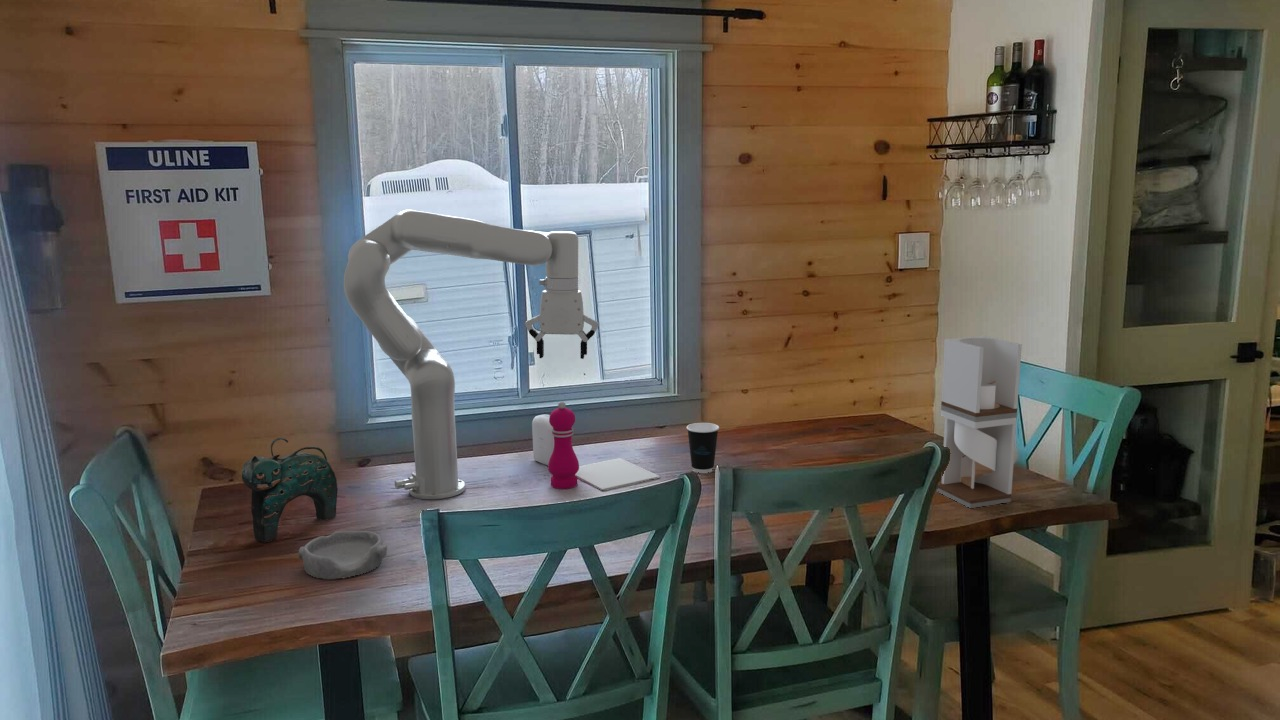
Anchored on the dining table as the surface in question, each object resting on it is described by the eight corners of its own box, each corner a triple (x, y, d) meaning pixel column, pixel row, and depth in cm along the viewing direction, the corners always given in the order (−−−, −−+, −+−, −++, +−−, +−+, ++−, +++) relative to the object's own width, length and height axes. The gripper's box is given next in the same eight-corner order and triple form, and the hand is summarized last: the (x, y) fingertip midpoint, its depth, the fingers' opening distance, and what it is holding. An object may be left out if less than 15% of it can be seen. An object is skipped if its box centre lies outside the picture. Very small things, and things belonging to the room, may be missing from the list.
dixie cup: (696, 477, 220) (696, 432, 218) (680, 468, 227) (680, 425, 224) (725, 472, 223) (725, 428, 221) (708, 463, 230) (708, 421, 228)
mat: (602, 491, 211) (602, 489, 211) (564, 471, 225) (564, 469, 225) (659, 478, 219) (659, 476, 219) (619, 459, 234) (619, 457, 234)
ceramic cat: (260, 547, 181) (250, 449, 177) (241, 540, 184) (231, 444, 180) (344, 517, 197) (337, 426, 193) (325, 511, 200) (317, 422, 196)
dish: (397, 565, 172) (395, 540, 171) (329, 590, 162) (327, 563, 161) (355, 545, 181) (353, 521, 180) (288, 568, 171) (286, 542, 170)
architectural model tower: (936, 492, 207) (944, 339, 200) (975, 486, 211) (985, 335, 204) (970, 509, 197) (979, 347, 190) (1010, 502, 200) (1021, 344, 193)
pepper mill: (575, 490, 211) (573, 405, 207) (545, 489, 212) (542, 405, 209) (582, 480, 218) (580, 398, 214) (552, 479, 219) (550, 397, 216)
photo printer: (530, 460, 235) (529, 413, 232) (545, 456, 237) (543, 410, 235) (553, 469, 227) (552, 421, 224) (567, 466, 229) (566, 418, 227)
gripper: (522, 286, 210) (523, 359, 213) (598, 287, 210) (598, 361, 213) (526, 282, 217) (527, 354, 220) (599, 284, 217) (599, 355, 220)
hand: (561, 357), depth 217 cm, fingers open, 9 cm apart
